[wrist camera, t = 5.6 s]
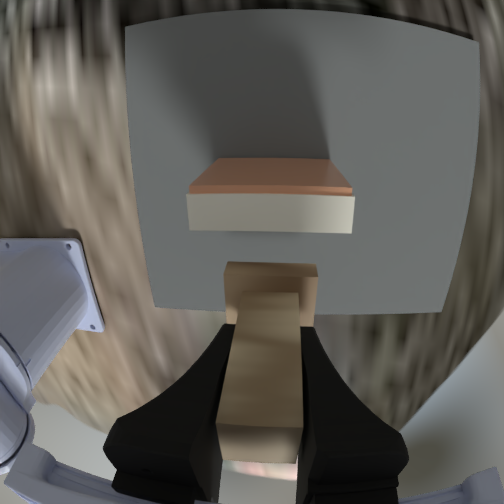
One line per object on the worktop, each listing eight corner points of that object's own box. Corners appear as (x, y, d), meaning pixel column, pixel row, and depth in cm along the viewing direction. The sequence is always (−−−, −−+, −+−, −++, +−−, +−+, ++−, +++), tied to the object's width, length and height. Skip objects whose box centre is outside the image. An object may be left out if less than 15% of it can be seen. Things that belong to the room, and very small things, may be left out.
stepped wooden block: (231, 329, 17) (202, 466, 10) (227, 261, 15) (182, 402, 8) (309, 332, 16) (316, 472, 9) (315, 263, 15) (337, 410, 7)
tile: (218, 188, 17) (189, 230, 12) (217, 158, 17) (185, 186, 11) (330, 190, 17) (351, 233, 12) (331, 159, 16) (355, 188, 11)
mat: (157, 302, 22) (154, 307, 21) (129, 28, 14) (125, 26, 14) (438, 307, 20) (441, 311, 20) (474, 43, 12) (478, 42, 12)
